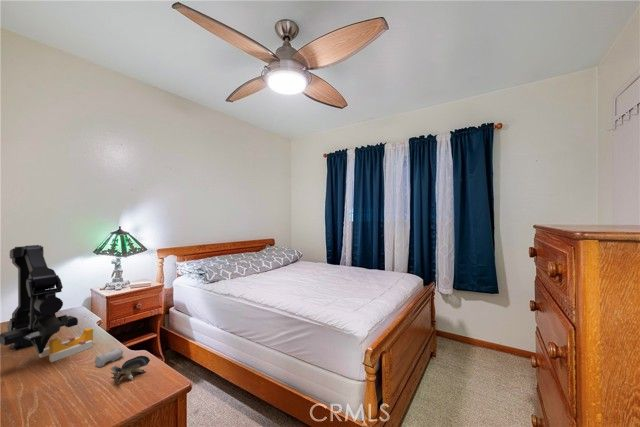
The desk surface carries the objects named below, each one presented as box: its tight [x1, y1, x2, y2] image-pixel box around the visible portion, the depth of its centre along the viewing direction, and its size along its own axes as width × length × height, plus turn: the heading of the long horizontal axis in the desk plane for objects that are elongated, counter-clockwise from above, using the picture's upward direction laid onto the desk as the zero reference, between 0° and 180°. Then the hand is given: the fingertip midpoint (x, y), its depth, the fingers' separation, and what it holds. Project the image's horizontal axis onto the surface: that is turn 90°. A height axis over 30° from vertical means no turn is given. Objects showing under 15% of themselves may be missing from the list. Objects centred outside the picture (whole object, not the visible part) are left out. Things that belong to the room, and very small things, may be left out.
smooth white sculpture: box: [94, 348, 124, 368], centre depth 92 cm, size 4×8×5 cm
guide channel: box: [38, 336, 94, 363], centre depth 99 cm, size 9×12×3 cm
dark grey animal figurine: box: [110, 355, 151, 386], centre depth 82 cm, size 8×7×9 cm
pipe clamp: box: [48, 327, 94, 360], centre depth 99 cm, size 12×4×6 cm, turn 158°
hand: (40, 353), depth 92 cm, fingers closed
